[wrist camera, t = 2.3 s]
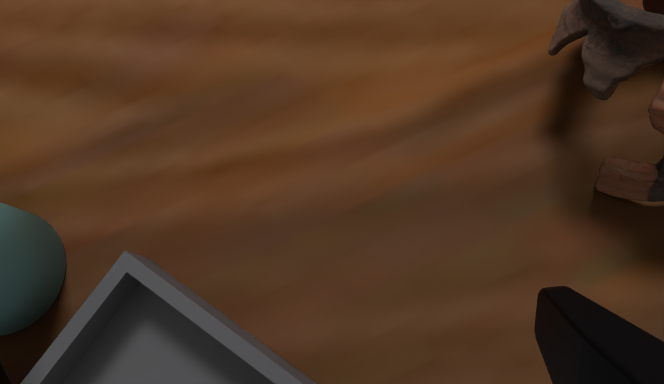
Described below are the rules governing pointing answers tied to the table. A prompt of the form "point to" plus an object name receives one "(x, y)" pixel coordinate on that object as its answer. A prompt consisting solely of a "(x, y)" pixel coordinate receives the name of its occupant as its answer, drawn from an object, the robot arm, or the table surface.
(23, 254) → the canister
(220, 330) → the tray
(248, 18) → the table surface
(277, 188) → the table surface
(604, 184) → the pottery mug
